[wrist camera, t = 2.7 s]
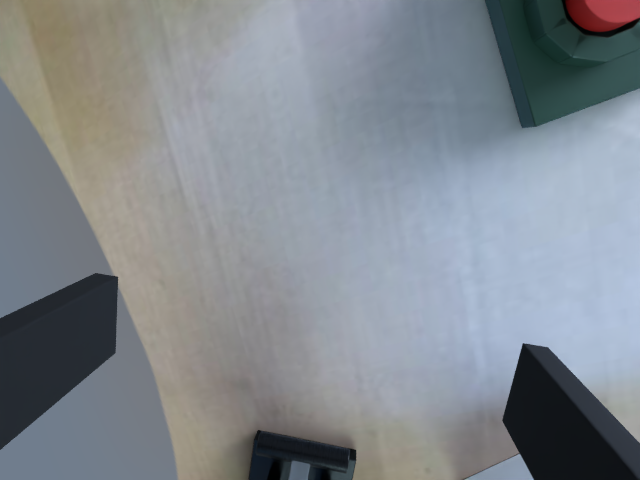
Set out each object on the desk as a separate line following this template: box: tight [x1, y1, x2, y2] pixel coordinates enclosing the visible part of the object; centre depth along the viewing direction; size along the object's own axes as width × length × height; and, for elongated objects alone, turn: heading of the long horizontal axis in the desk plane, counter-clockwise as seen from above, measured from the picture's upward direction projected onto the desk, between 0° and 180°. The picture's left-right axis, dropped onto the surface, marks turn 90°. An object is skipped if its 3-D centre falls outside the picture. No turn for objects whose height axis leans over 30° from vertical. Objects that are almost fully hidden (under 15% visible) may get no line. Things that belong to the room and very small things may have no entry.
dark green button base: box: [485, 0, 640, 128], centre depth 23 cm, size 11×9×4 cm
